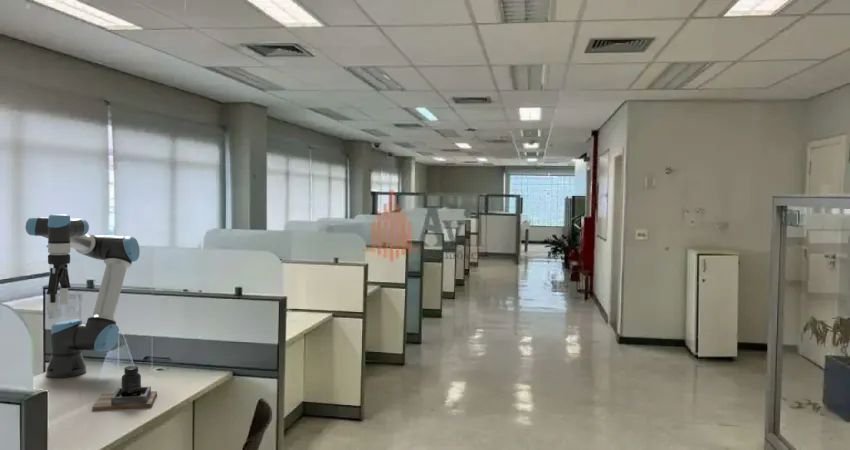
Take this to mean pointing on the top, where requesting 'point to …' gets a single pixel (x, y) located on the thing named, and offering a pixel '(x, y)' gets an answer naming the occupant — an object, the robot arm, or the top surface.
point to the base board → (125, 400)
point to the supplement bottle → (131, 382)
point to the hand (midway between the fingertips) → (58, 307)
